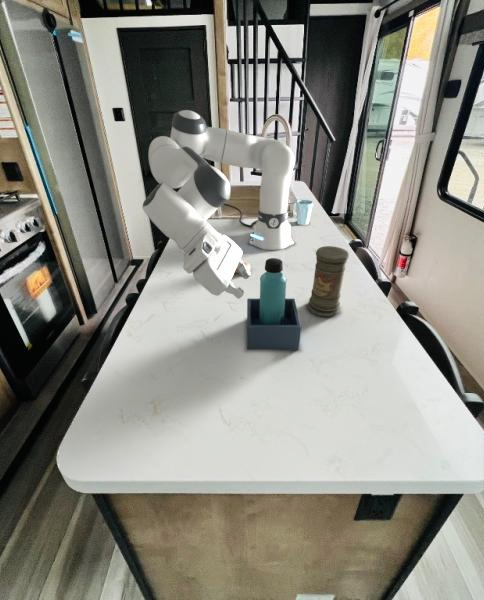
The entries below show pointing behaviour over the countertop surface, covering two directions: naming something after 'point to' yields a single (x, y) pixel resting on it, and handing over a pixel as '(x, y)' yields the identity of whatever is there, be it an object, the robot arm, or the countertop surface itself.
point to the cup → (303, 211)
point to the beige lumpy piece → (245, 265)
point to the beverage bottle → (272, 294)
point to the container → (328, 281)
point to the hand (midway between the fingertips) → (245, 285)
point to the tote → (273, 329)
